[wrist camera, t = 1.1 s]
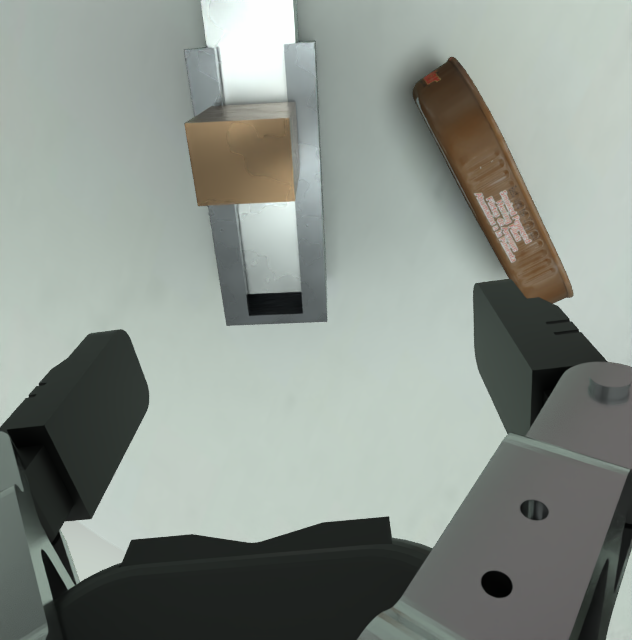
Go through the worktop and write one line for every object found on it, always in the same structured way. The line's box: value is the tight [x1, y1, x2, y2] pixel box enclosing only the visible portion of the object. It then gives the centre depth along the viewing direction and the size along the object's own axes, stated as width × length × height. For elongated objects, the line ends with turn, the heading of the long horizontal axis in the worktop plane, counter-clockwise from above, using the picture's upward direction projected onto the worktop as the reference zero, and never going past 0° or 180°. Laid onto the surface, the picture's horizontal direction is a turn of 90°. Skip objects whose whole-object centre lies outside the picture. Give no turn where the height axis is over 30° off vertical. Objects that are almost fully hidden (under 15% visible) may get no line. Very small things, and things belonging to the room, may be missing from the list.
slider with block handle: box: [184, 0, 301, 294], centre depth 25 cm, size 4×18×11 cm, turn 3°
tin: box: [413, 57, 573, 304], centre depth 29 cm, size 15×3×8 cm, turn 33°
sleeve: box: [184, 41, 327, 326], centre depth 30 cm, size 6×15×6 cm, turn 3°
